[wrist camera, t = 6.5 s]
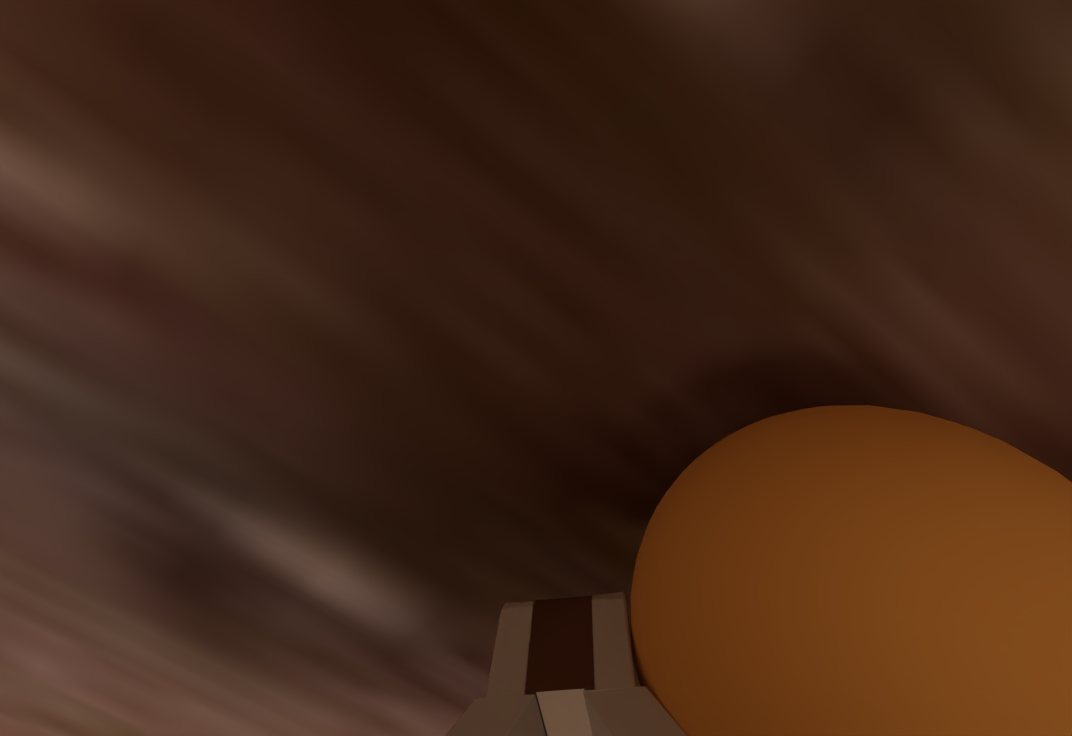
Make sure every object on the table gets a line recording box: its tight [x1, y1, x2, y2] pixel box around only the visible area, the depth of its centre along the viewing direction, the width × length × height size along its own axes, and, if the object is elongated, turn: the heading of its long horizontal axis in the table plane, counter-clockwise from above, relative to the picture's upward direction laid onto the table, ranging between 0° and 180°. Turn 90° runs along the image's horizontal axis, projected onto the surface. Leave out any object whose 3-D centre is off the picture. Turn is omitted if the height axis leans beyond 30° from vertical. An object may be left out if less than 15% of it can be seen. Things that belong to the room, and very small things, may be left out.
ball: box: [630, 405, 1072, 736], centre depth 7 cm, size 6×6×6 cm
